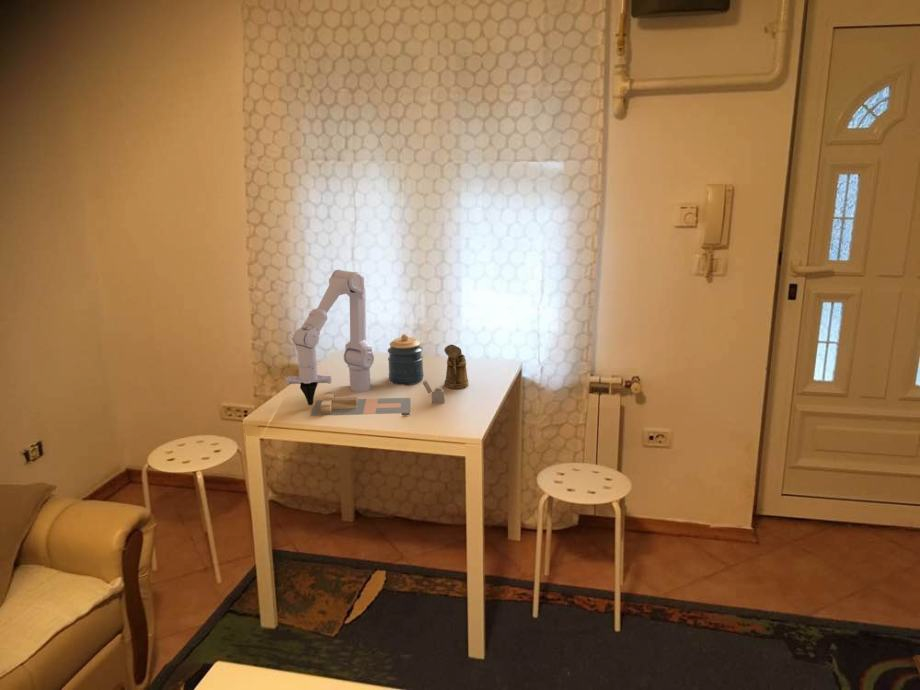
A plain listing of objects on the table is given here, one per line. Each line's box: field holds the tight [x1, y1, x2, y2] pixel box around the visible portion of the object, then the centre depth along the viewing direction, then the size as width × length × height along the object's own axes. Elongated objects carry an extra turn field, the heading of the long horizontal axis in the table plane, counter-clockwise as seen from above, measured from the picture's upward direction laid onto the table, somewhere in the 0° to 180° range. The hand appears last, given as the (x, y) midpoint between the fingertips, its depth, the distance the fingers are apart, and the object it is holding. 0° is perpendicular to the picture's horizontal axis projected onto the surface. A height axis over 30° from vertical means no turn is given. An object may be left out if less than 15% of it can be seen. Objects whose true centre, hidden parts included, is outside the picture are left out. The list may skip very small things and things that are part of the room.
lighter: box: [422, 380, 445, 405], centre depth 234 cm, size 7×2×8 cm, turn 94°
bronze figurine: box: [444, 344, 469, 390], centre depth 247 cm, size 9×14×18 cm, turn 170°
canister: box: [387, 333, 425, 386], centre depth 256 cm, size 13×13×18 cm
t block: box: [321, 392, 358, 414], centre depth 229 cm, size 12×11×3 cm
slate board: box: [309, 397, 411, 417], centre depth 230 cm, size 14×32×1 cm, turn 93°
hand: (310, 403), depth 229 cm, fingers closed
